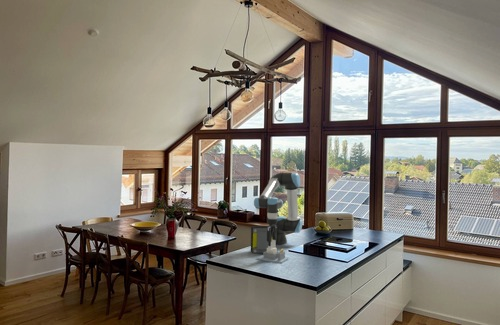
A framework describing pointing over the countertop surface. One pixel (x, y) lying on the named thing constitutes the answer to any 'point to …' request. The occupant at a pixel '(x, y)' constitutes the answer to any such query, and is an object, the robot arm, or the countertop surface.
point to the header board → (274, 257)
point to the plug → (274, 250)
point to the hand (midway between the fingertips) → (271, 249)
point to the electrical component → (259, 239)
